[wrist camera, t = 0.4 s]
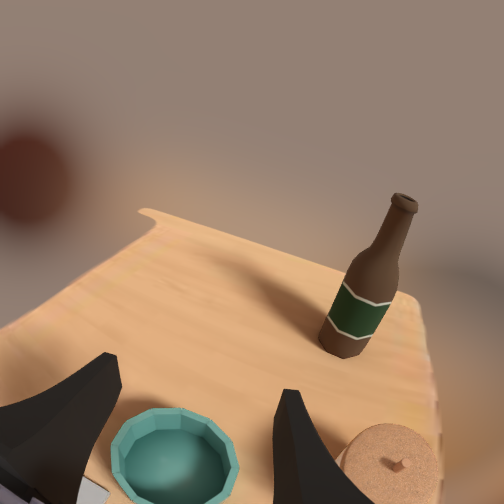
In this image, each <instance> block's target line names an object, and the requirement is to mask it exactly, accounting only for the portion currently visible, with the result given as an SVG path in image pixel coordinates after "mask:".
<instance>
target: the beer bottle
mask: <svg viewBox="0 0 504 504" xmlns="http://www.w3.org/2000/svg"><path fill="white" fill-rule="evenodd" d="M391 202H392V204H391V206H390V209H389V211H388V213H387V215H386V217H385V220H384V222H383V224H382V226H381V228H380V230H379V232H378V234H377V237H376V238H375V240H374V241H373V243H372V245H371V246H370V247H369V248H367V249H366V250H364V251H362V252H361V253H359V254H358V255H357V257H356V258H355V259H354V260H353V261H352V263H351V265H350V267H349V269H348V270H347V273H346V275H345V277H344V280H343V282H342V284H341V287H340V289H339V291H338V293H337V296H336V298H335V300H334V302H333V304H332V307H331V309H330V311H329V313H328V315H327V317H326V320H325V322H324V324H323V327H322V329H321V332H320V334H319V337H318V338H319V340H320V342H321V343H322V345H323V346H324V348H325V350H326V351H327V352H328V353H331V354H333V355H335V356H338V357H340V358H342V359H346V358H349V357H353V356H357V355H359V354H360V353H361V352H362V350H363V349H364V348H365V346H366V345H367V343H368V341H369V340H370V338H371V337H372V335H373V333H374V332H375V330H376V328H377V327H378V325H379V323H380V322H381V320H382V318H383V316H384V315H385V313H386V311H387V309H388V308H389V306H390V304H391V302H392V300H393V298H394V296H395V293H396V291H397V286H398V279H399V268H398V259H399V255H400V252H401V249H402V246H403V244H404V241H405V238H406V236H407V233H408V230H409V227H410V224H411V221H412V218H413V215H414V214H415V213H417V211H418V203H417V202H416V201H415V200H414V199H412V198H411V197H409V196H406V195H404V194H401V193H395V194H394V195H393V196H392V198H391Z"/></svg>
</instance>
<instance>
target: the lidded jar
mask: <svg viewBox="0 0 504 504" xmlns="http://www.w3.org/2000/svg"><path fill="white" fill-rule="evenodd" d="M335 462H336V463H337V464H338V466H339V467H340V468H341V470H342V471H343V472H344V473H345V475H346V476H347V477H348V478H349V479H350V480H351V481H352V482H353V483H354V484H355V485H356V486H357V487H358V489H359V490H360V491H362V492H363V493H364V494H365V495H366V496H367V497H368V498H369V499H370V500H372V501H373V502H374V503H375V504H427V503H428V501H429V500H430V498H431V497H432V495H433V493H434V491H435V488H436V485H437V480H438V466H437V461H436V458H435V455H434V453H433V450H432V449H431V447H430V446H429V444H428V443H427V442H426V440H425V439H424V438H423V437H422V436H420V435H419V434H418V433H416V432H415V431H414V430H412V429H410V428H407V427H405V426H402V425H397V424H378V425H375V426H372V427H370V428H367V429H365V430H364V431H362V432H361V433H360V434H358V435H357V436H356V437H355V438H354V439H353V440H352V441H351V442H350V444H349V445H348V446H347V447H346V448H345V449H344V450H343V451H342V452H341V454H340V455H339V456H338V457H337V459H336V460H335Z"/></svg>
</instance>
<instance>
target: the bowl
mask: <svg viewBox="0 0 504 504" xmlns="http://www.w3.org/2000/svg"><path fill="white" fill-rule="evenodd" d="M111 466H112V474H113V476H114V477H115V479H116V480H117V482H118V483H119V484H120V486H121V487H122V488H123V490H124V491H125V492H126V494H127V495H128V496H129V498H130V499H131V500H132V501H133V502H134V503H135V504H223V503H224V502H225V501H226V499H227V498H228V497H229V496H230V494H231V491H232V488H233V486H234V483H235V480H236V477H237V474H238V472H239V464H238V460H237V457H236V453H235V450H234V446H233V442H232V441H231V439H230V438H229V437H228V436H227V435H226V434H225V433H224V432H223V431H222V430H221V429H220V428H219V427H218V426H217V425H216V424H215V423H214V422H213V421H212V420H210V419H209V418H207V417H204V416H201V415H199V414H196V413H194V412H191V411H189V410H186V409H184V408H182V410H181V408H152V410H151V409H149V410H147V411H145V412H143V413H141V414H139V415H137V416H135V417H133V418H131V419H129V420H126V422H124V424H123V425H122V427H121V429H120V430H119V432H118V433H117V435H116V436H115V438H114V440H113V441H112V443H111Z"/></svg>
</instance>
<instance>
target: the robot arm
mask: <svg viewBox="0 0 504 504" xmlns="http://www.w3.org/2000/svg"><path fill="white" fill-rule="evenodd" d="M121 389H122V383H121V378H120V373H119V367H118V362H117V356H116V355H113V354H110V353H106V352H104V353H102V354H101V355H100V356H98V357H97V358H95V359H94V360H92V361H91V362H90V363H88V364H87V365H85V366H84V367H83V368H81V369H80V370H78V371H77V372H75V373H74V374H72V375H71V376H70V377H68V378H66V379H65V380H63V381H62V382H60V383H58V384H57V385H55V386H53V387H52V388H50V389H48V390H46V391H44V392H42V393H40V394H38V395H36V396H33V397H31V398H28V399H25V400H23V401H20V402H17V403H14V404H11V405H7V406H3V407H0V504H76V503H77V498H78V493H79V489H80V485H81V481H82V478H83V474H84V471H85V468H86V465H87V462H88V459H89V456H90V454H91V451H92V448H93V446H94V444H95V442H96V440H97V438H98V436H99V434H100V432H101V430H102V429H103V427H104V425H105V423H106V421H107V419H108V418H109V416H110V414H111V412H112V410H113V408H114V407H115V404H116V402H117V399H118V397H119V394H120V391H121ZM272 439H273V463H274V497H273V504H375V503H374V502H373V501H372V500H370V499H369V498H368V497H367V496H366V495H365V494H364V493H363V492H362V491H360V490H359V489H358V487H357V486H356V485H355V484H354V483H353V482H352V481H351V480H350V479H349V478H348V477H347V476H346V475H345V473H344V472H343V471H342V470H341V468H340V467H339V466H338V464H337V463H336V462H335V460H334V459H333V458H332V456H331V455H330V453H329V452H328V450H327V448H326V447H325V445H324V443H323V442H322V440H321V438H320V436H319V435H318V433H317V431H316V429H315V427H314V425H313V423H312V421H311V419H310V416H309V414H308V412H307V410H306V407H305V405H304V402H303V399H302V397H301V394H300V392H299V391H298V390H291V389H283V392H282V396H281V399H280V402H279V405H278V408H277V411H276V414H275V416H274V425H273V438H272Z"/></svg>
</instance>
